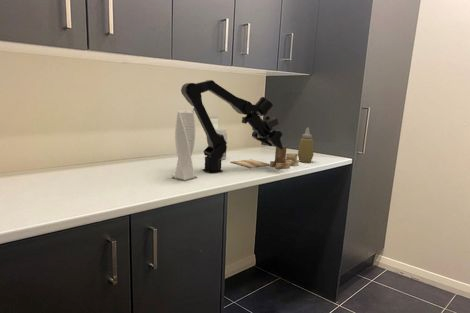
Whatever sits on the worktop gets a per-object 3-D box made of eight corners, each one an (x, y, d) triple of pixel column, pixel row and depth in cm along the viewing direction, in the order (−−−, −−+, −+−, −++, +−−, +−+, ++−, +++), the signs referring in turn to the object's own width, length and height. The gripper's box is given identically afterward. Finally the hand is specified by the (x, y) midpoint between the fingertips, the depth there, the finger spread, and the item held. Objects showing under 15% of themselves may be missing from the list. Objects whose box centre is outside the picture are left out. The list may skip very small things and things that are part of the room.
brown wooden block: (277, 168, 156) (279, 147, 154) (274, 166, 159) (275, 146, 157) (285, 167, 158) (286, 146, 156) (281, 166, 160) (283, 145, 159)
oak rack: (277, 169, 154) (277, 163, 154) (270, 166, 160) (270, 161, 159) (289, 168, 157) (290, 163, 157) (282, 165, 163) (282, 160, 162)
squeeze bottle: (305, 163, 170) (308, 128, 167) (293, 161, 176) (296, 126, 173) (316, 162, 175) (319, 128, 171) (304, 159, 181) (307, 126, 178)
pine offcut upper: (293, 160, 162) (293, 154, 161) (286, 159, 164) (286, 153, 164) (297, 159, 165) (297, 153, 164) (289, 158, 167) (290, 152, 167)
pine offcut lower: (289, 166, 162) (290, 160, 161) (284, 164, 166) (284, 158, 166) (298, 166, 164) (298, 160, 164) (292, 164, 168) (292, 158, 168)
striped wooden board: (249, 167, 154) (249, 167, 154) (230, 162, 164) (230, 161, 164) (270, 164, 163) (270, 164, 163) (250, 160, 173) (250, 159, 173)
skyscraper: (200, 178, 130) (202, 106, 125) (185, 182, 123) (187, 105, 118) (183, 174, 135) (185, 104, 130) (169, 178, 128) (170, 104, 123)
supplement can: (207, 159, 170) (208, 129, 168) (213, 156, 178) (214, 128, 175) (222, 160, 168) (224, 131, 165) (228, 158, 176) (229, 129, 173)
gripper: (280, 112, 142) (299, 137, 149) (258, 109, 158) (277, 132, 165) (263, 130, 140) (283, 155, 147) (243, 126, 157) (262, 148, 163)
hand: (276, 147), depth 155 cm, fingers open, 9 cm apart
